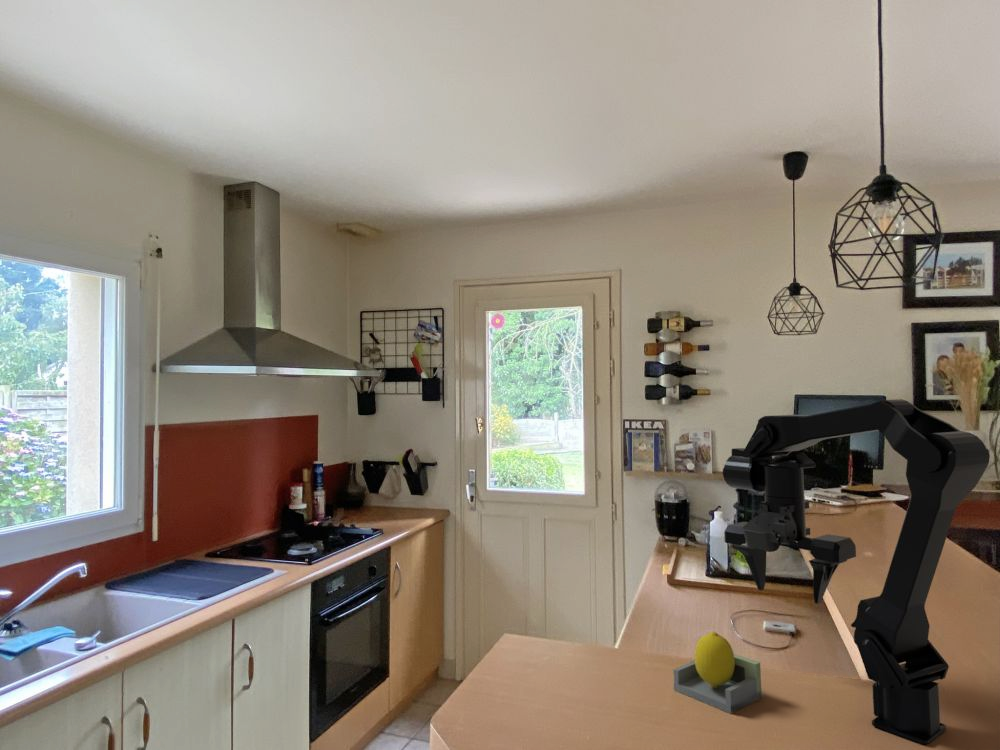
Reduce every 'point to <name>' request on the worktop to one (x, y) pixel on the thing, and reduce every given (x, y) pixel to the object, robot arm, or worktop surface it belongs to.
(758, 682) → the miniature couch
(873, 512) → the worktop surface
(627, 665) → the worktop surface
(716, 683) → the lemon
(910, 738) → the robot arm
